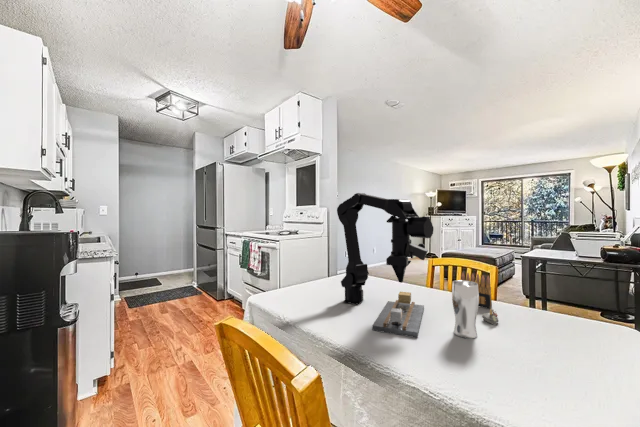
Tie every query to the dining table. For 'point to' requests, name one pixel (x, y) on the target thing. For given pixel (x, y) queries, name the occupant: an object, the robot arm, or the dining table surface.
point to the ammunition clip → (486, 290)
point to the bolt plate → (409, 319)
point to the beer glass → (465, 308)
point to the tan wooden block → (404, 297)
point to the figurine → (490, 316)
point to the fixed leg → (396, 315)
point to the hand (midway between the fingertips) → (400, 282)
